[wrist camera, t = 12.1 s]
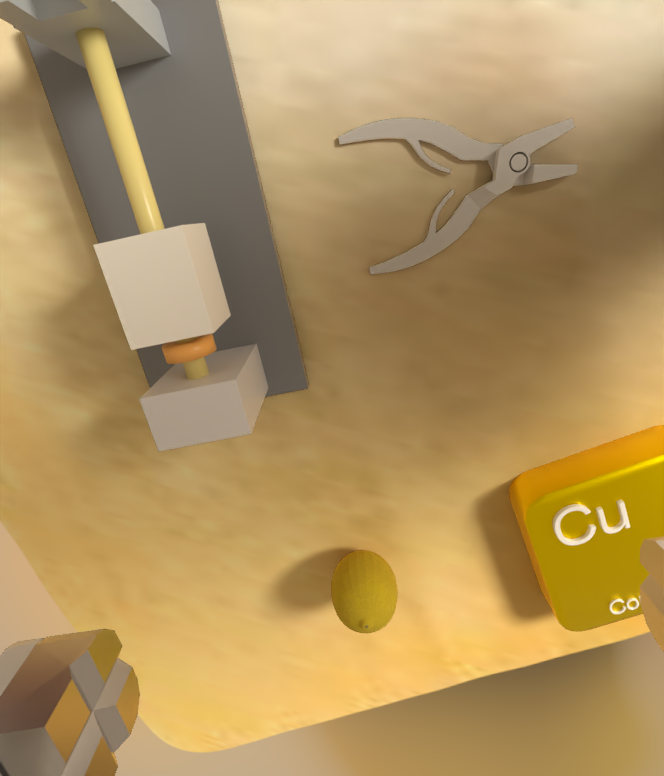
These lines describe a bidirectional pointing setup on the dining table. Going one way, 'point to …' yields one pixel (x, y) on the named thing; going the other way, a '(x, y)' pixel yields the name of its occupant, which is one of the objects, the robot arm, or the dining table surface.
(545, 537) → the element tile
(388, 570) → the lemon
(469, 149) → the pliers
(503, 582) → the dining table surface
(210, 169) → the cord rig
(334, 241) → the dining table surface
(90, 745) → the robot arm
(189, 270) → the sleeve
